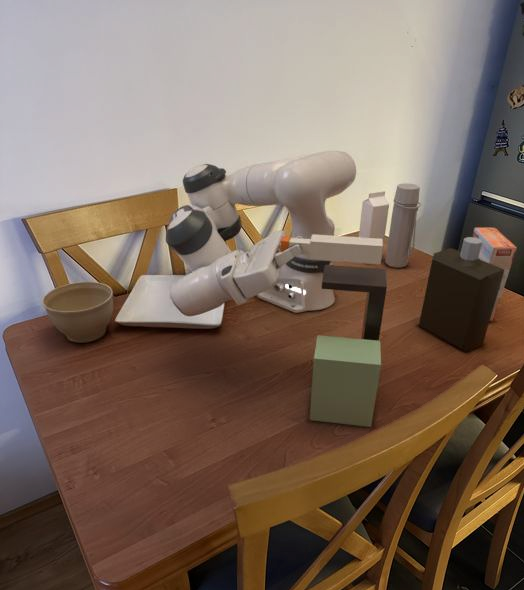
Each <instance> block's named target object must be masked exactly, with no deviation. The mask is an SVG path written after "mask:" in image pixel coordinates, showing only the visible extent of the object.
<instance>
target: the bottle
mask: <svg viewBox="0 0 524 590" xmlns="http://www.w3.org/2000/svg"><path fill="white" fill-rule="evenodd" d="M481 246H482V240H481V239H478V238H474V237H472V236H468V237H464V238H463V242H462V246H461V250H457V249H454V248H453V247H449V248H447V249H446V248H445V249H444V250H441V251H436V252H434V253H433V255H432V258H431V259H432V260H431V264H430V268H429V274H428V278H427V283H426V289H425V292H424V293H425V294H424V298H423V303H422V307H421V313H420V317H419V322H418V326H419V327H420V328H422V329H424V330H426V331H428V332H429V333H431V334H433V335H434V336H436V337H438V338H440V339H441V340H443V341H444V342H447V343H448V344H450V345H452V346H454V347H456V348H457V349H459V350H461V351H462V352H465V353H468V352H470V351H472V350H474V349H476V348H479V347H480V346H483V345H484V341H485V338H486V335H487V331H488V328H489V325H490V322H491V321H490V318H491V315H492V311H493V308H494V305H495V301H496V298H497V294H498V291H499V288H500V284H501V281H502V278H503V274H504V269H502V268H500V267H497V266H495V265H492V264H490V263H487V262H485V261H482V260H480V259H479V258H478V257H479V253H480V250H481Z"/></svg>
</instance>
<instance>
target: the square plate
mask: <svg viewBox="0 0 524 590" xmlns="http://www.w3.org/2000/svg"><path fill="white" fill-rule="evenodd" d="M186 275H187V274H141V275H140V276H139V278H138V279H137V281H136V282H135V284H134V286H133V288H132V290H131V291H130V293H129V295H128V297H127V298H126V299H125V301H124V303H123V305H122V306H121V308H120V310H119V311H118V314H117V315H116V317H115V319H114V322H115V323H117V324H119V325H122V326H127V327H145V328H166V329H167V328H171V329H202V330H203V329H205V330H206V329H207V330H209V329H216V328H218V327H220V326H221V325H222V322H223V317H224V311H225V304H226V302H225V303H223V304H222V305H221V306H220V307H218V308H215V309H213V310H211V311H208V312H205V313H202V314H199V315H195V316H185V315H184V314H182V313H181V312H180V311H179V310H178V309H177V307H176V306H175V305H174V303H173V301H172V299H171V297H170V291H169V290H170V287H171V286H172V285H173V284H174V283H176V282H177V281H178V280H180V279H181V278H183V277H184V276H186Z"/></svg>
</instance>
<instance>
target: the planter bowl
mask: <svg viewBox="0 0 524 590" xmlns="http://www.w3.org/2000/svg"><path fill="white" fill-rule="evenodd" d="M113 293H114V292H113V289H112V288H111V287H110V286H109V285H107V284H106V283H103V282H98V281H77V282H72V283H67V284H64V285H61V286H57V287H56V288H53V289H52V290H50V291H49V292H47V293H46V294H45V295H44V296H43V298H42V306H43V307H44V309H45V311H46V314H47V316H48V318H49V320H50V322H51V323H52V325H53V326H54V327H55V328H57V330H58V331H59V332H61V333H62V334H63V335H64V336H65V337H66V338H67V340H69V341H70V342H73V343H78V344H79V343H80V344H82V343H90V342H94V341H96V340H98V339H100V338H102V337H103V336H104V335H105V333H106V332H107V327H108V325H109V323H110V321H111V320H112V316H113V311H114V298H113V296H114V294H113Z"/></svg>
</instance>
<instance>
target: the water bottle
mask: <svg viewBox="0 0 524 590" xmlns="http://www.w3.org/2000/svg"><path fill="white" fill-rule="evenodd" d="M420 190H421V189H420V185H418V184H415V183H407V182H403V183H399V184H397V186H396V189H395V193H394V198H393V206H392V213H391V220H390V226H389V233H388V239H387V240H388V241H387V247H386V253H385V260H384V261H385V264H386V265H387V266H388V267H391V268H393V269H394V268H395V269H401V268H404V267H406V266H407V265H408V263H409V257H410V256H412V255H413V253H414V250H415V242H416V230H417V229H416V227H417V217H418V210H419V208H420V207H421V205H422V204H421V203H420V202H419V201H420ZM411 245H412V246H411Z"/></svg>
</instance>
